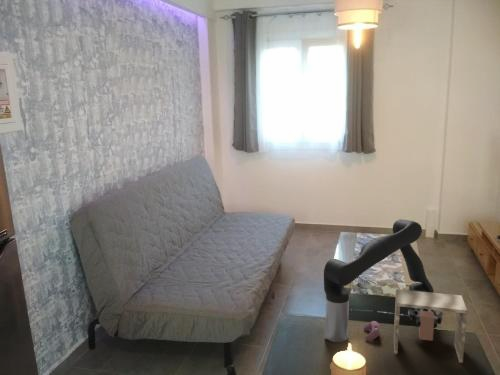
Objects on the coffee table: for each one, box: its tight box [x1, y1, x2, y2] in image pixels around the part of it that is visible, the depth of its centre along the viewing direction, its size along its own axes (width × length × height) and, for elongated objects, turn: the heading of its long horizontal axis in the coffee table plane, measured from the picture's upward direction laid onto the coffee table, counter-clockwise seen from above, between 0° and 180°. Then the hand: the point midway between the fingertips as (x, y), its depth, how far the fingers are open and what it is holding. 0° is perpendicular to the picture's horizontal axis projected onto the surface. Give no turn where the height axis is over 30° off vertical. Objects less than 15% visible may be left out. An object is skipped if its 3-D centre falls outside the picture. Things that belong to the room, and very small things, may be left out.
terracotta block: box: [418, 310, 435, 341], centre depth 182 cm, size 5×5×10 cm
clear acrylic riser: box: [393, 288, 468, 364], centre depth 176 cm, size 24×13×21 cm, turn 74°
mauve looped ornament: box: [363, 320, 381, 342], centre depth 188 cm, size 10×5×7 cm, turn 170°
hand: (427, 325), depth 179 cm, fingers closed on terracotta block, 5 cm apart
